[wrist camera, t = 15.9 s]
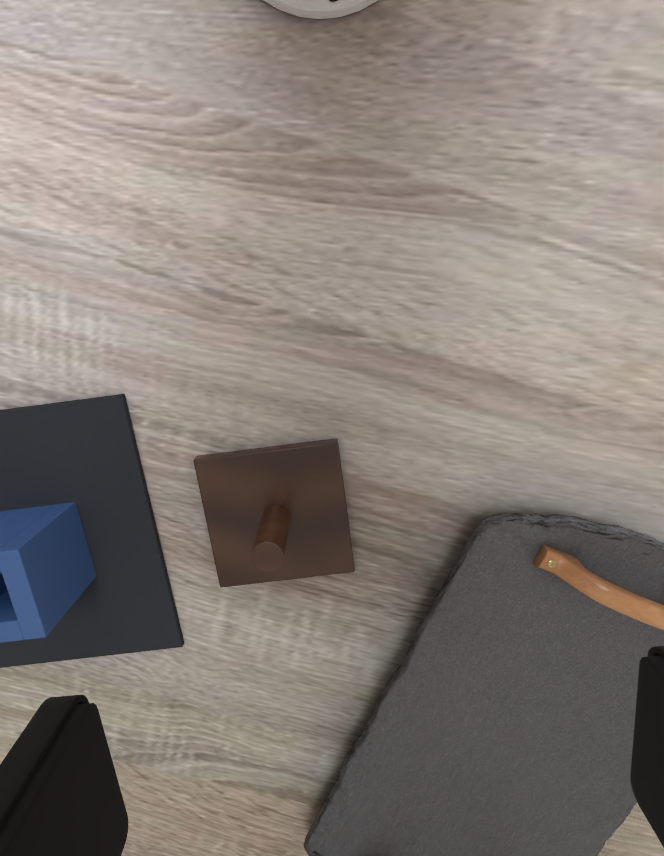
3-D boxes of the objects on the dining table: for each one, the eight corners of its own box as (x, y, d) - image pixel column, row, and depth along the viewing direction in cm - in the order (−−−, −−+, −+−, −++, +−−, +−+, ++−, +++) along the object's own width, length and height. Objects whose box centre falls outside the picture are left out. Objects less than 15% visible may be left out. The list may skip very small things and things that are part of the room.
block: (-7, 511, 37) (-83, 561, 30) (75, 501, 36) (17, 549, 30) (18, 585, 38) (-50, 648, 31) (96, 575, 38) (46, 637, 31)
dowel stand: (196, 455, 36) (168, 490, 30) (337, 437, 36) (338, 469, 30) (222, 580, 39) (201, 636, 32) (354, 565, 38) (358, 618, 32)
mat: (-102, 423, 35) (-108, 425, 35) (124, 393, 35) (121, 395, 34) (-15, 665, 41) (-19, 670, 40) (184, 642, 40) (182, 647, 40)
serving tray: (515, 915, 48) (541, 1004, 42) (285, 841, 45) (278, 925, 40) (760, 576, 39) (839, 629, 33) (489, 462, 36) (520, 496, 30)
